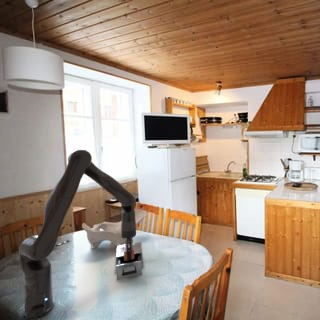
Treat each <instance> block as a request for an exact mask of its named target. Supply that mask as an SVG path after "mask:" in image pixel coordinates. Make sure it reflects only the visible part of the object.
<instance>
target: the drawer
mask: <svg viewBox="0 0 320 320" xmlns="http://www.w3.org/2000/svg"><path fill="white" fill-rule="evenodd" d="M115 275H116V281H120V280H125V279H129V278H134V277H137V276H142V275H143V259H142V260H141V261H140V254H138V255H134V259H131V260H125V261H124V257H121V258H119V261H118V265H116V264H115Z"/></svg>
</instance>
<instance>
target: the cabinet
mask: <svg viewBox="0 0 320 320" xmlns="http://www.w3.org/2000/svg"><path fill="white" fill-rule="evenodd" d="M132 247H134V255H138V254H140V261H141V260H142V261H143V246H142V242H141V241H139V242H133V243H132ZM124 248H126V244H124V245H119V246H118V245H117V246H116V252H115V253H116V254H115V266H116V265H118V261H119V258H121V257H124Z"/></svg>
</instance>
